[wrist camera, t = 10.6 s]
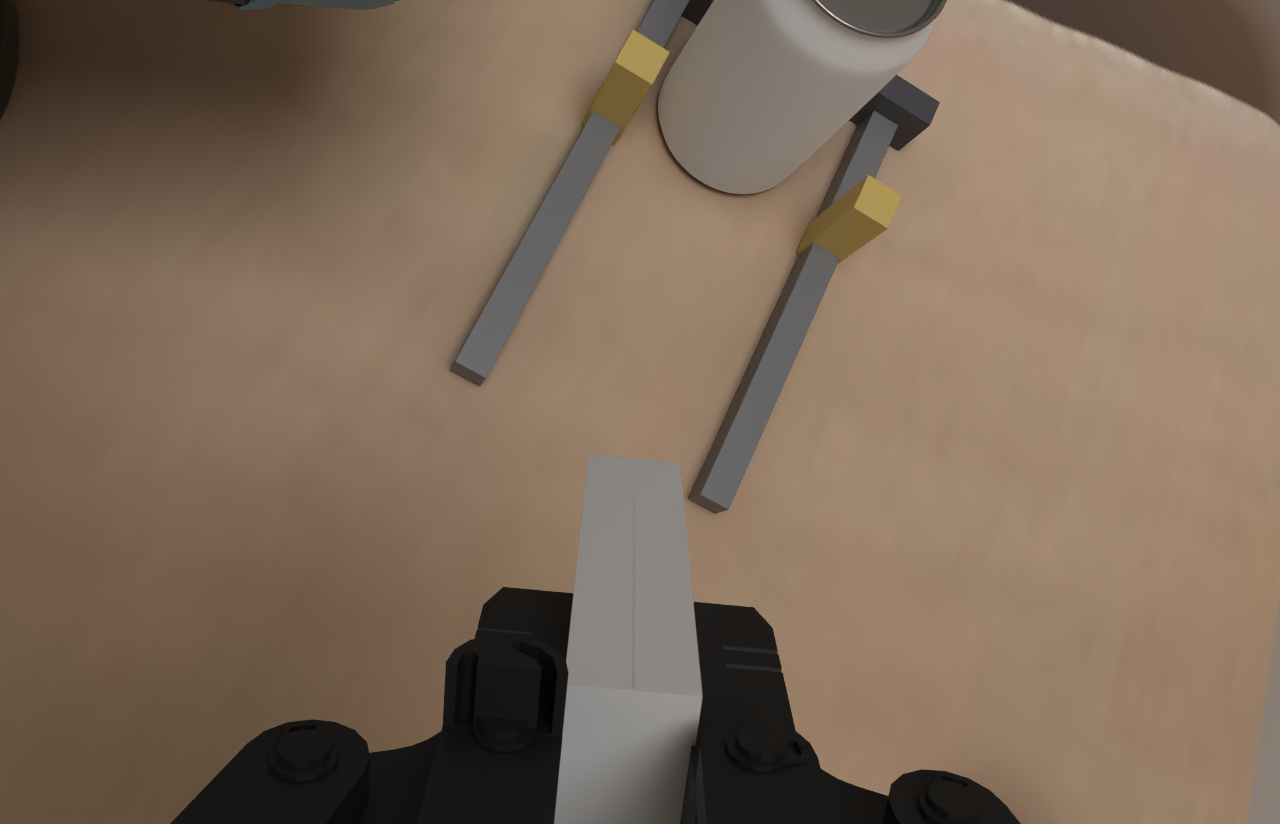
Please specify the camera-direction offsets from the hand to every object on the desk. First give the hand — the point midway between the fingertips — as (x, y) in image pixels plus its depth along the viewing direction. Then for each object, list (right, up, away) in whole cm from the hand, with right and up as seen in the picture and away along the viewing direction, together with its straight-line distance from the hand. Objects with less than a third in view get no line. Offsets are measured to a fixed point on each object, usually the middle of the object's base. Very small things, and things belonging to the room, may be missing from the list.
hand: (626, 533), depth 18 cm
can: (+4, +14, +27) cm, 30 cm away
